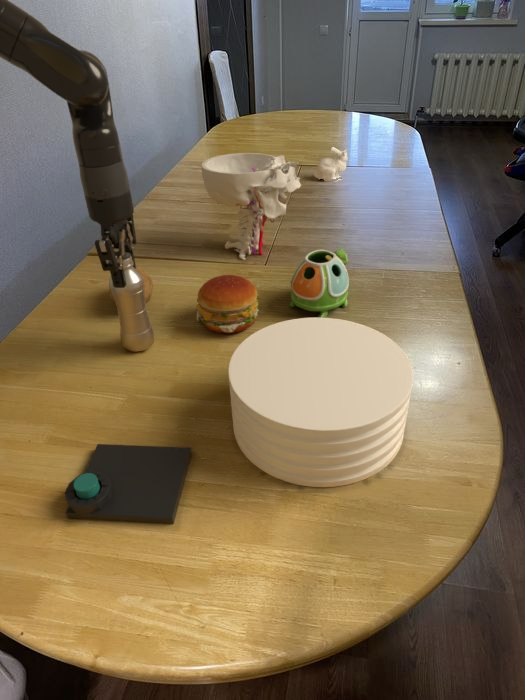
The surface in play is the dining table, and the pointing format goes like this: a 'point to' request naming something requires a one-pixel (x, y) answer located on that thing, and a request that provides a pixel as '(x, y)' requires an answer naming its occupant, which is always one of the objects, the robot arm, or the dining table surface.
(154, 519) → the scale
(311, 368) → the plate stack
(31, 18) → the robot arm
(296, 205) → the dining table surface
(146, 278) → the potato
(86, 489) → the button
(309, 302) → the turtle holder
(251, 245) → the skull
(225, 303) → the burger
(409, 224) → the dining table surface
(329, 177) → the rabbit
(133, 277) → the plastic bottle
